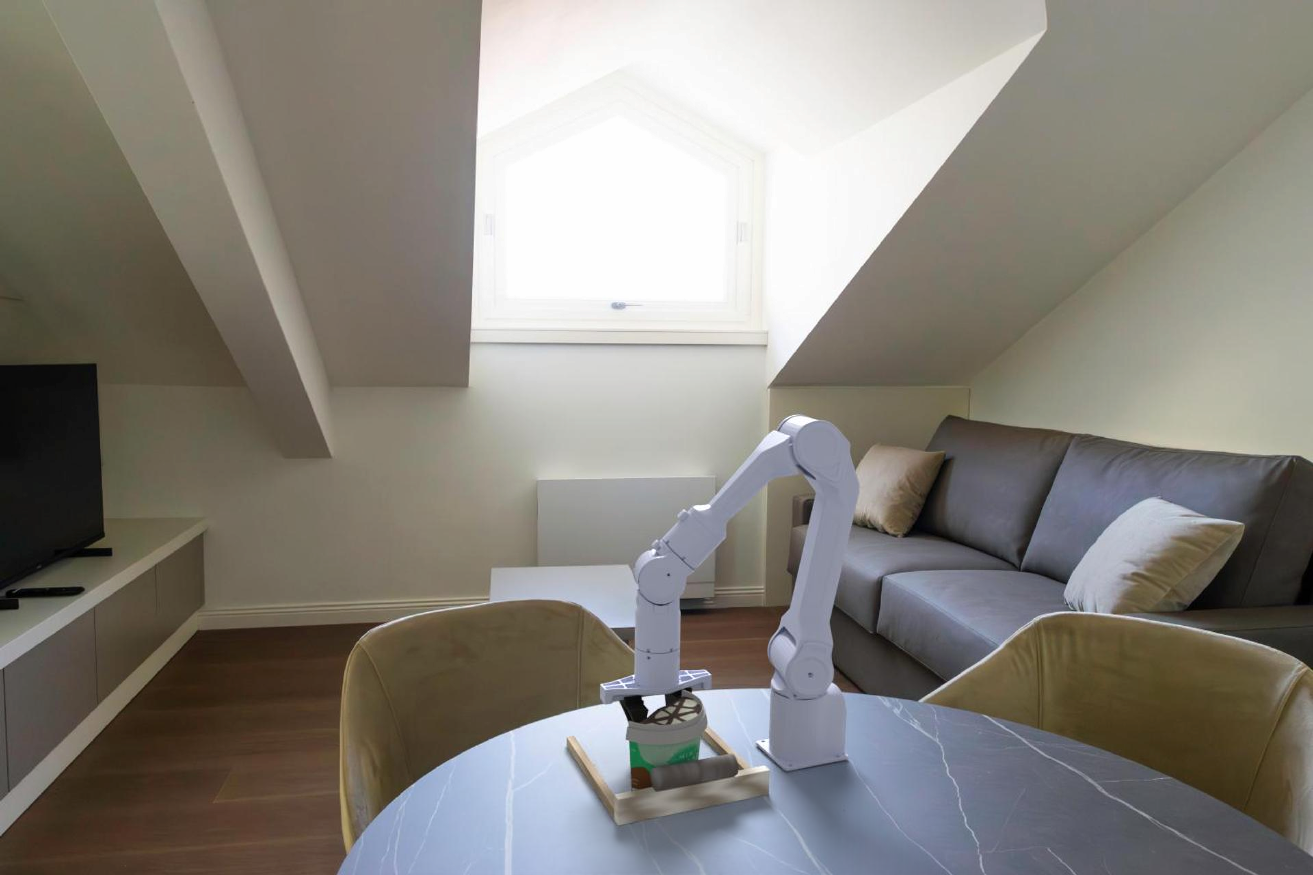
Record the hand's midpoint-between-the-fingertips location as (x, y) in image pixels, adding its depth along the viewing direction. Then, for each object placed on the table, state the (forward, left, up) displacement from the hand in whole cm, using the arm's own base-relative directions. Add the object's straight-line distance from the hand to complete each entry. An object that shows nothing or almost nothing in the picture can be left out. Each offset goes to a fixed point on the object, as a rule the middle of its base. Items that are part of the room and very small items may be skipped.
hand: (655, 748), depth 108 cm
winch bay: (0, +2, -1) cm, 2 cm away
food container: (+1, +8, -2) cm, 8 cm away
